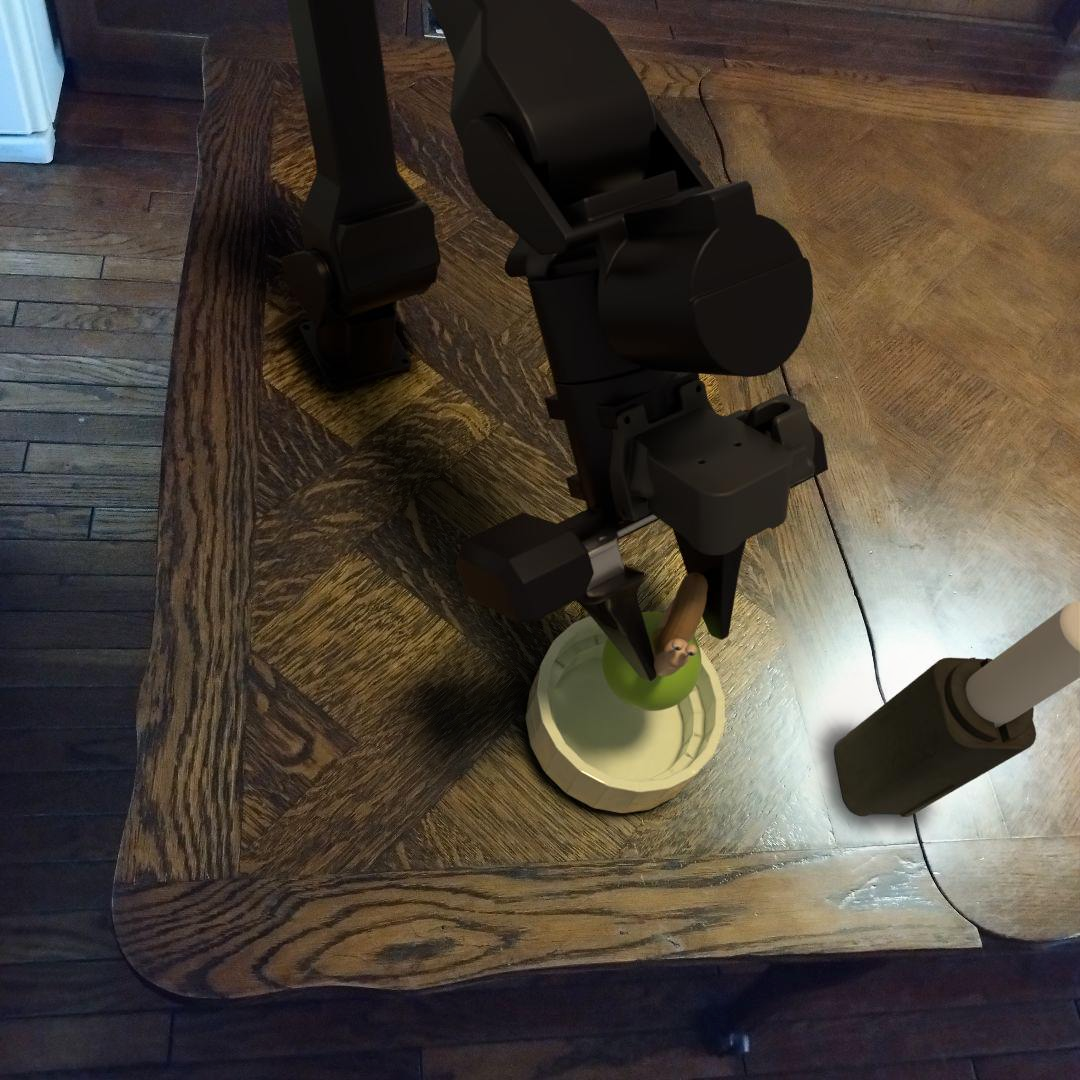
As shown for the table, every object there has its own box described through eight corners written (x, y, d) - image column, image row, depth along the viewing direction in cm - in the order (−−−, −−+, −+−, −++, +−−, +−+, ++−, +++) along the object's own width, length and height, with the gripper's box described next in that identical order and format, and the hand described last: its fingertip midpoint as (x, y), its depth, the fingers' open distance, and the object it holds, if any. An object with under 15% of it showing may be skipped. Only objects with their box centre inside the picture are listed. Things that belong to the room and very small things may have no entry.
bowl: (732, 768, 62) (761, 741, 57) (579, 848, 57) (598, 825, 53) (642, 620, 66) (662, 585, 62) (493, 684, 62) (504, 651, 58)
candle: (903, 739, 65) (1174, 545, 44) (921, 817, 62) (1219, 651, 41) (830, 737, 64) (1070, 538, 43) (846, 816, 61) (1109, 645, 40)
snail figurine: (575, 719, 55) (628, 628, 45) (608, 623, 58) (663, 518, 48) (667, 754, 55) (741, 672, 44) (694, 656, 58) (768, 558, 48)
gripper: (532, 458, 34) (632, 817, 40) (895, 300, 42) (937, 619, 47) (407, 429, 44) (502, 722, 49) (722, 304, 51) (774, 570, 57)
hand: (684, 657), depth 50 cm, fingers closed on snail figurine, 4 cm apart
